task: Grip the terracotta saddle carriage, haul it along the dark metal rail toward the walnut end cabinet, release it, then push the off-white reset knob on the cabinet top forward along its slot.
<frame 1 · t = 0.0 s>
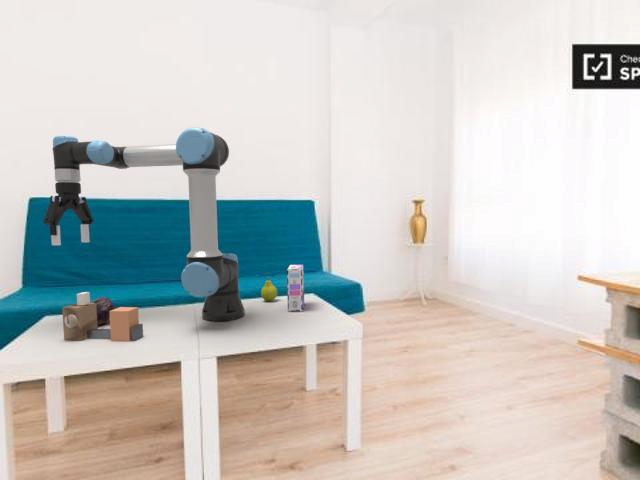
hand: (71, 243, 144), 28 cm above the table, fingers open, 13 cm apart
rock: (100, 324, 145), on the table
candy box: (296, 308, 163), on the table
cabinet: (81, 336, 129), on the table
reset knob: (83, 298, 128), point 12 cm above the table, slide at 0.0 cm
rail: (112, 337, 127), on the table
carriage: (124, 323, 126), point 4 cm above the table, slide at 0.0 cm
fruit: (269, 301, 176), on the table
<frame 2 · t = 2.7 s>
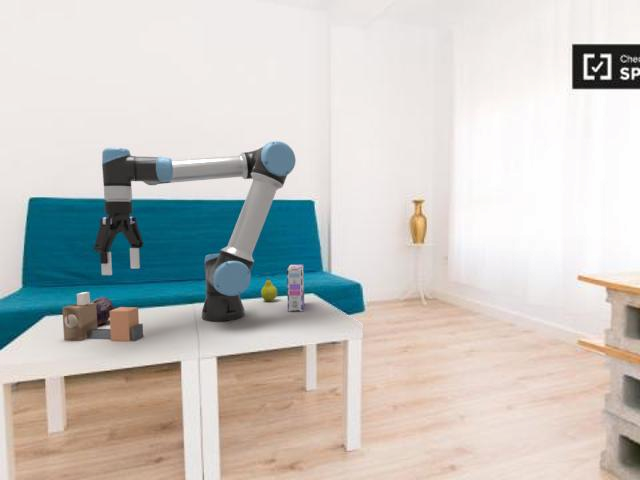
hand: (121, 271, 125), 21 cm above the table, fingers open, 13 cm apart
nothing on the table moved.
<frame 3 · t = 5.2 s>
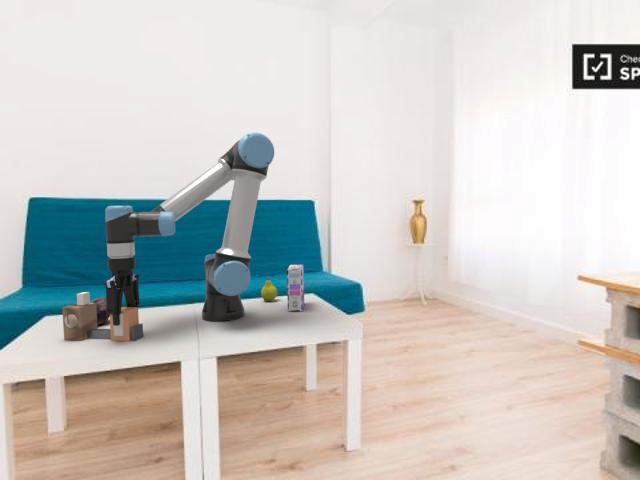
hand: (125, 332, 126), 2 cm above the table, fingers closed on carriage, 5 cm apart
carriage: (124, 323, 126), point 4 cm above the table, slide at 0.0 cm, touching gripper
everything else where it was.
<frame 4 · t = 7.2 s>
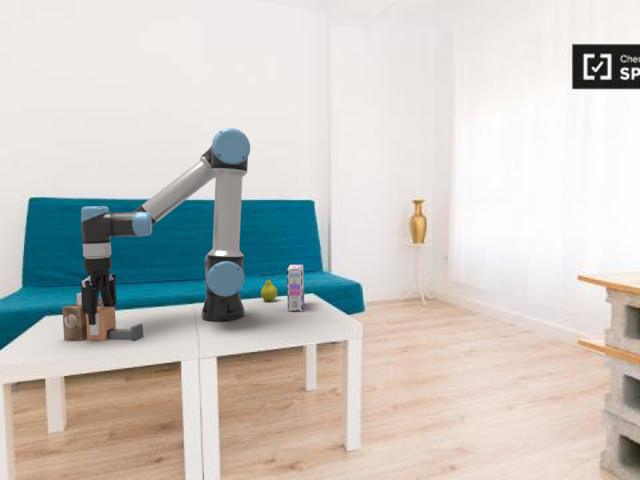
hand: (101, 331, 128), 2 cm above the table, fingers closed on carriage, 5 cm apart
carriage: (101, 323, 127), point 4 cm above the table, slide at 7.9 cm, touching gripper
everything else where it was.
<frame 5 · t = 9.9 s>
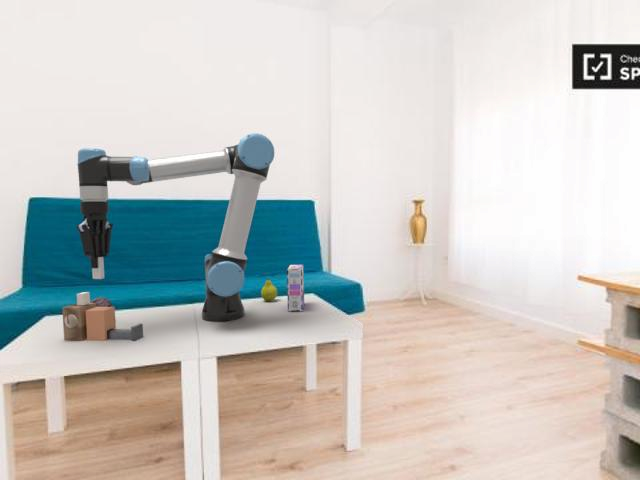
hand: (98, 278, 127), 18 cm above the table, fingers closed
carriage: (101, 323, 127), point 4 cm above the table, slide at 8.0 cm
everything else where it was.
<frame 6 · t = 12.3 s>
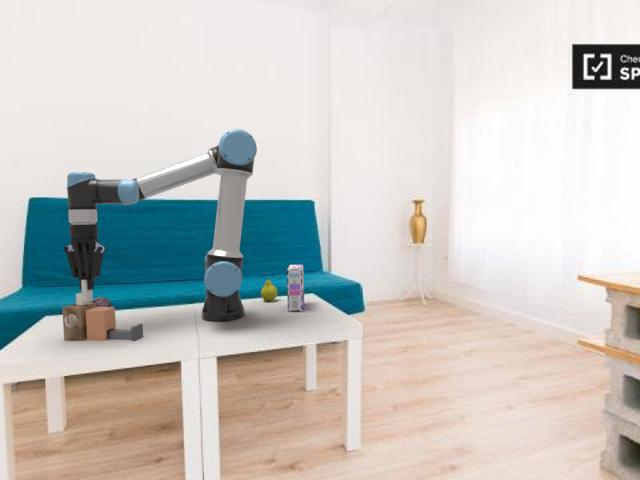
hand: (87, 300, 128), 12 cm above the table, fingers closed
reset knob: (82, 298, 128), point 12 cm above the table, slide at 0.3 cm, touching gripper
everything else where it was.
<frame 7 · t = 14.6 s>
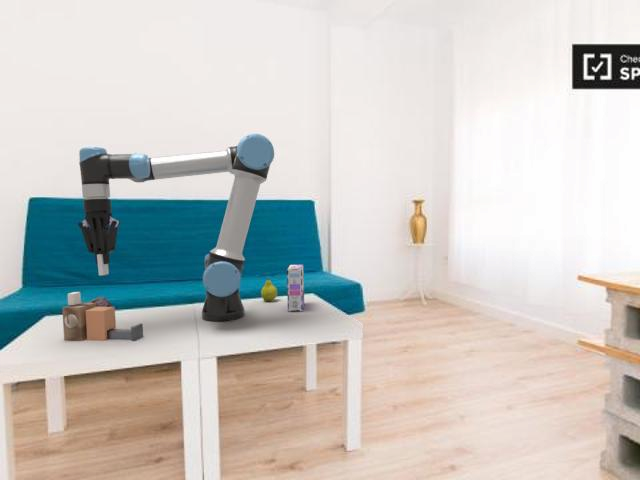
hand: (103, 274, 129), 19 cm above the table, fingers closed
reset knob: (74, 298, 128), point 12 cm above the table, slide at 3.2 cm
everything else where it was.
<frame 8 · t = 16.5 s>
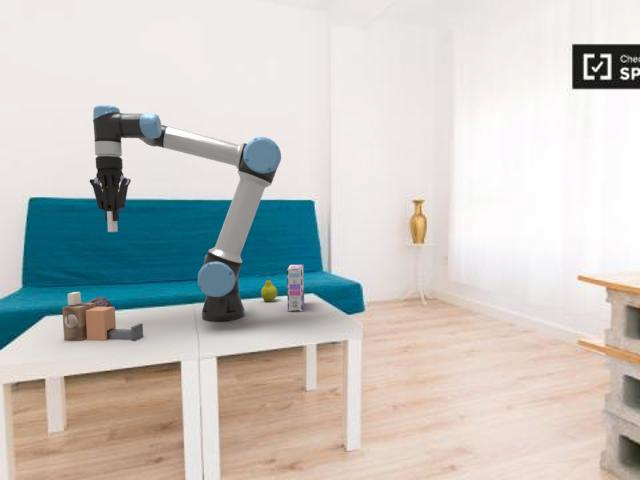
hand: (112, 231, 132), 32 cm above the table, fingers closed
at the end: carriage slide at 8.0 cm; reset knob slide at 3.2 cm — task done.
